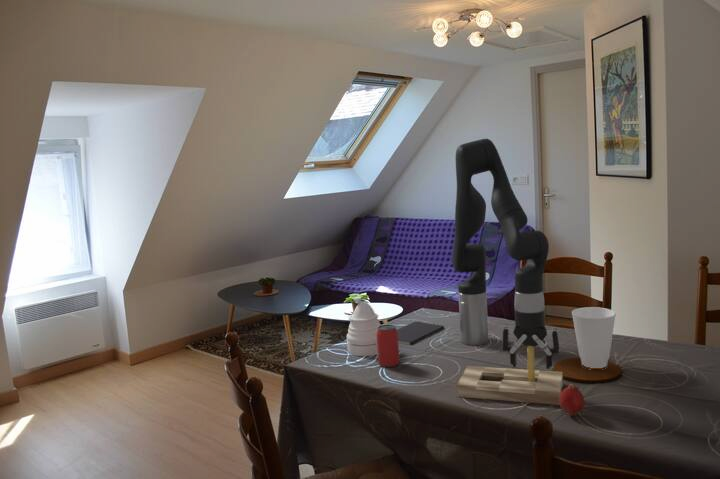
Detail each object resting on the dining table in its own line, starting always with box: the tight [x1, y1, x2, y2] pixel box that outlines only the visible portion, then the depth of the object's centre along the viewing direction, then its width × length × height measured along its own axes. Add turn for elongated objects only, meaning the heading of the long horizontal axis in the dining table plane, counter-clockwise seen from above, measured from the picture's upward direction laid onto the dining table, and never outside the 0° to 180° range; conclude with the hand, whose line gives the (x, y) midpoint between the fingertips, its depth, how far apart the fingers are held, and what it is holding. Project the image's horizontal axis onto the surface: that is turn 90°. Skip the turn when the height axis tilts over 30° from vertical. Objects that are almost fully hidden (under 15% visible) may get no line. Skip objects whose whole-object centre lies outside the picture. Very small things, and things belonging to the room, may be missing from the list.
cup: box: [571, 306, 616, 368], centre depth 178 cm, size 12×12×16 cm
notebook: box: [396, 321, 445, 346], centre depth 221 cm, size 13×2×21 cm
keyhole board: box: [456, 365, 564, 406], centre depth 165 cm, size 14×26×3 cm, turn 69°
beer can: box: [377, 324, 400, 368], centre depth 191 cm, size 7×7×12 cm
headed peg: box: [526, 345, 536, 382], centre depth 163 cm, size 4×4×13 cm
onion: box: [559, 383, 585, 417], centre depth 148 cm, size 6×6×8 cm
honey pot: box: [346, 296, 382, 357], centre depth 206 cm, size 13×13×18 cm
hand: (531, 366), depth 163 cm, fingers open, 8 cm apart
